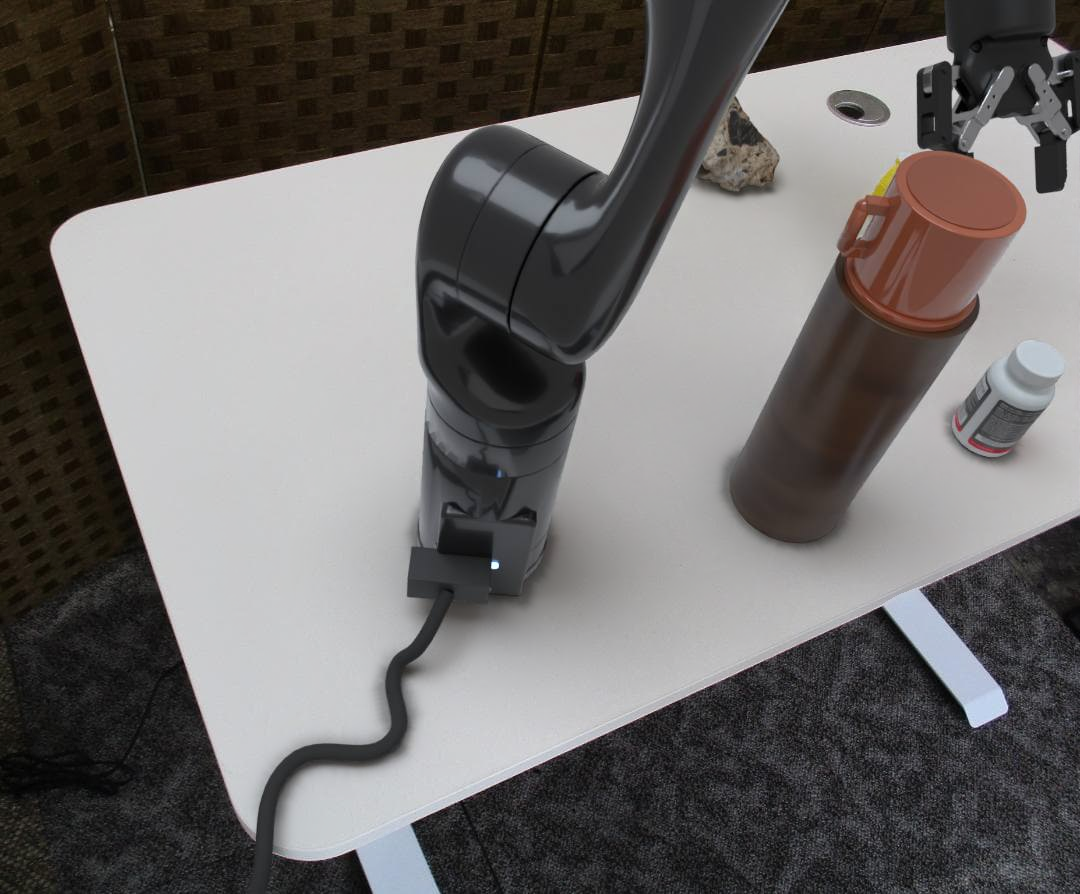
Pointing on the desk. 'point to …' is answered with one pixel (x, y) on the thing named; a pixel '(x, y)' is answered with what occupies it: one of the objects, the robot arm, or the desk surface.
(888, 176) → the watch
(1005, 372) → the pill bottle
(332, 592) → the desk surface
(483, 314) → the robot arm
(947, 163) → the upturned cup
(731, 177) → the rock
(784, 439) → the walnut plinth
